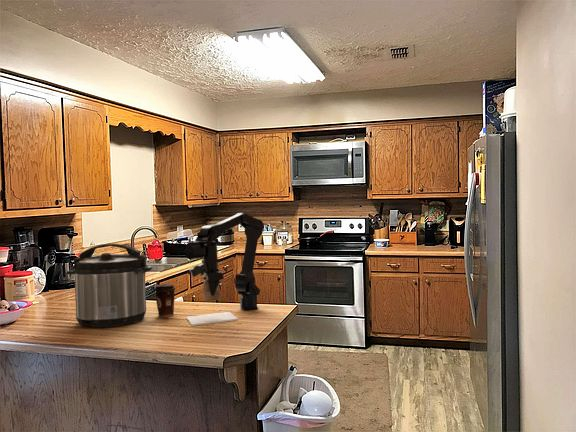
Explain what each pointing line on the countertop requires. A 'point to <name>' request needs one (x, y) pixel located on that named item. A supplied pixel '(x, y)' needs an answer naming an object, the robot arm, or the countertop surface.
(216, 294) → the walnut slab
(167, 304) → the coffee cup
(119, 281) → the pressure cooker
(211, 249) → the robot arm
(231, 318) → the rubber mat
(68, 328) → the countertop surface
